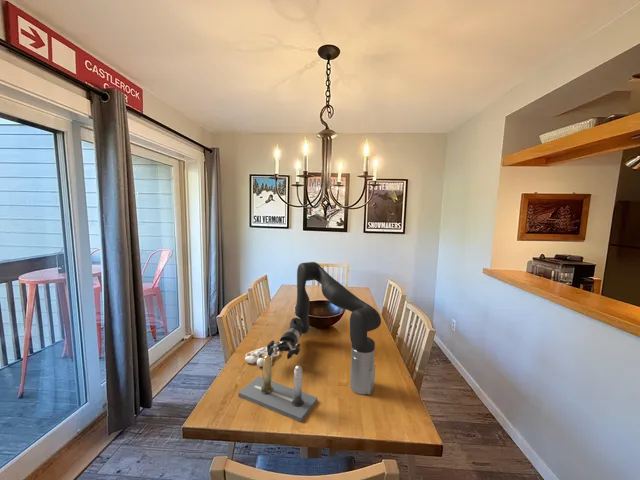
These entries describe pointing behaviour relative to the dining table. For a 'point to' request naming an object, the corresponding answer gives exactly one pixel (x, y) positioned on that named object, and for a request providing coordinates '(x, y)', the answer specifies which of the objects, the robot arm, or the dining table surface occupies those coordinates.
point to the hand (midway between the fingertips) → (278, 355)
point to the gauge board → (278, 399)
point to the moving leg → (267, 374)
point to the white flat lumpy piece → (257, 353)
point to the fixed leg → (298, 385)
